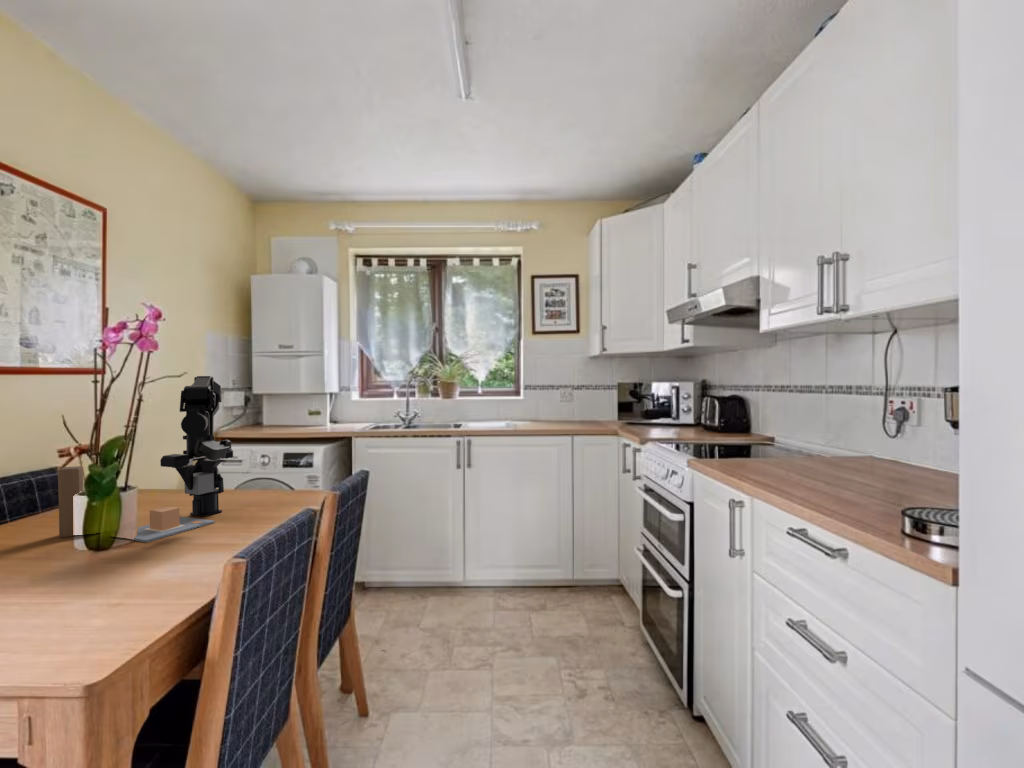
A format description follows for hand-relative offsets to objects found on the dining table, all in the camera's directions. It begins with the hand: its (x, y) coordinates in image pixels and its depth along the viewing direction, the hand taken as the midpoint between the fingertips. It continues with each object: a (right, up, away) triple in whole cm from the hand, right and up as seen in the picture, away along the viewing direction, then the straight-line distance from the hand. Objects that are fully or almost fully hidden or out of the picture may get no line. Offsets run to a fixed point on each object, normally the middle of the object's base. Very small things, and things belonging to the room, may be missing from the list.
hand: (199, 487), depth 155 cm
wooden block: (-29, -12, -4) cm, 32 cm away
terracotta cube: (-9, -11, -1) cm, 14 cm away
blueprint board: (-9, -11, -1) cm, 15 cm away
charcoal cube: (0, -1, 0) cm, 1 cm away
